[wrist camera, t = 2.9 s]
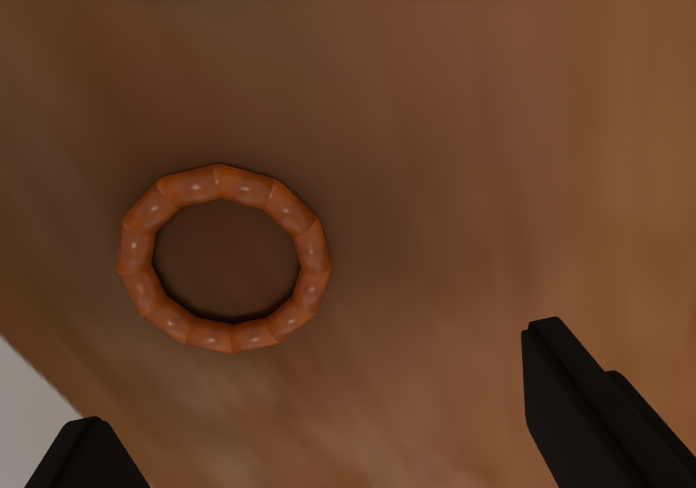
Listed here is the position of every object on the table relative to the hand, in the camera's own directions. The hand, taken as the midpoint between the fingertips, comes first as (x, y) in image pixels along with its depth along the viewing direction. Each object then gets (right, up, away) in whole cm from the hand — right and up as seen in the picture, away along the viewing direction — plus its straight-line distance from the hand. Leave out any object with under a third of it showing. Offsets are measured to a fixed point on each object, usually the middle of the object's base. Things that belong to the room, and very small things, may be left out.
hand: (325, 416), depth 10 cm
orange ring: (-4, +3, +7) cm, 9 cm away
